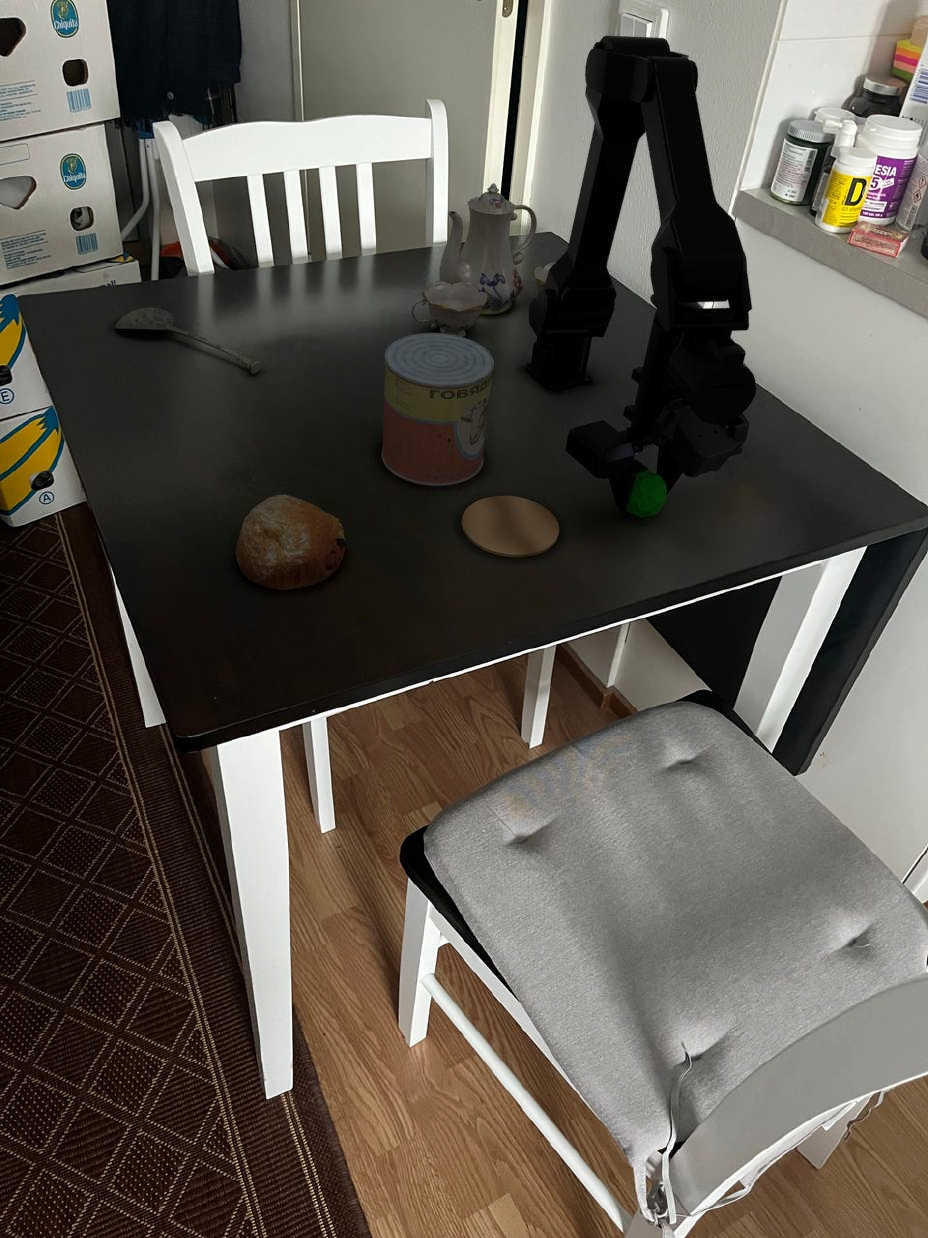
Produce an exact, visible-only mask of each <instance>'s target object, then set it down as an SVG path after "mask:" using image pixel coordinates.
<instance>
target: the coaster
mask: <svg viewBox="0 0 928 1238" xmlns="http://www.w3.org/2000/svg"><path fill="white" fill-rule="evenodd" d="M461 528H462V529H461V530H462V532H463V534H464V535H465V537H466V538H467V539H468V540H469V541H470V542H471V543H472V544H473V545H474V546H476V547H477V548H479V549H480V550H483V551H485V552H486V553H490V554H492V555H496V556H498V557H499V556H500V557H505V558H517V559H518V558H529V557H534V556H537V555H540V554H543V553H545V552H546V551H549V549H551V548H552V547H553V546H554V545H555V544H556V542H557V541H558V539H559V533H560V525H559V522H558V520H557V518H556V517H555V515H554V514H553V513H552V512H551V511H550V510H549V509H548V508H547V507H545V506H543V505H542V504H540V503H538V502H536V501H534V500H531V499H528V498H524V497H520V496H514V495H494V496H493V495H492V496H487V497H484V498H481V499H478V500H476V501H475V502H473V503H471V504H470V505H469V506H468V507H467V508H466V509H465V510H464V512H463V514H462V518H461Z"/></svg>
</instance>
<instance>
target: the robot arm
mask: <svg viewBox="0 0 928 1238" xmlns="http://www.w3.org/2000/svg"><path fill="white" fill-rule="evenodd" d="M689 57H690V55H688V54H683V53H681V52H677V51H673V50H671V47H670V44H669V42H668V40H667V39H666V38H664V37H656V36H655V37H651V36H627V35H603V36H602V37H601V39H600V40H599V41H595V43H594V44H593V46H592V48H591V49H590V50H589V52H588V54H587V57H586V61H585V67H584V68H585V70H584V78H585V90H584V91H585V92H584V95H585V98H586V102H587V105H588V108H589V110H590V114H591V116H592V119H593V123H594V124H593V129H592V130H593V131H592V135H591V140H590V143H589V149H588V153H587V157H586V162H585V167H584V171H583V176H582V181H581V185H580V190H579V195H578V200H577V203H576V208H575V213H574V218H573V222H572V227H571V231H570V236H569V240H568V246H567V249H566V251H565V252H564V253H563V254H562V256H560V257H559V258H558V260H556V261H555V262H556V263H555V264H554V265H553V266H552V267H551V268H550V269H549V272H548V275H547V279H546V282H545V286H544V289H542V290H541V291H540V293H539V294H537V295H536V296H535V297H534V298H533V300H532V301H531V302H530V304H529V306H528V325H529V326H530V328H531V329H532V331H533V333H534V334H535V336H536V341H534V342H533V346H532V352H531V359H530V363H526V364H525V365H524V369H525V370H526V372H528V373H530V375H532V376H533V377H534V378H535V379H536V380H537V381H539V382H540V383H541V384H542V385H544V386H545V387H546V388H547V389H549V390H550V391H553V392H556V391H559V390H564V389H569V388H572V387H573V388H574V387H577V386H582V385H586V384H589V383H592V382H593V381H594V377H593V376H592V375H591V374H589V373H588V372H587V367H588V363H589V357H590V351H591V345H592V342H593V341H592V340H593V338H600V339H601V338H604V337H605V334H606V332H607V330H608V327H609V325H610V322H611V319H612V317H613V314H614V311H615V306H616V297H617V295H618V294H617V291H616V288H615V286H614V282H613V280H612V277H611V274H610V272H609V269H608V263H609V259H610V255H611V251H612V247H613V243H614V239H615V235H616V232H617V227H618V223H619V220H620V215H621V211H622V207H623V204H624V199H625V195H626V191H627V188H628V185H629V181H630V176H631V172H632V169H633V166H634V165H633V164H634V161H635V156H636V153H637V149H638V145H639V141H640V139H642V137H643V136H645V137H646V142H647V143H646V144H647V149H648V154H649V160H650V167H651V171H652V177H653V183H654V190H655V194H656V200H657V206H658V213H659V223H660V226H659V228H658V230H657V232H656V234H655V237H654V238H653V241H652V244H651V245H650V255H651V261H650V268H649V269H650V270H649V275H650V283H651V287H652V292H653V293H652V294H651V295H650V298H649V299H650V302H651V304H652V305H653V306H654V307H655V309H656V310H655V312H654V317H653V321H652V325H651V329H650V333H649V338H648V343H647V347H646V351H645V356H644V361H643V364H642V366H640V367H635V368H633V369H632V373H631V377H630V378H631V380H633V381H634V382H636V384H638V387H637V391H636V396H635V399H634V403H633V404H628V405H626V406H624V409H623V417H625V418H626V420H628V421H629V422H630V426H627V427H625V429H624V430H621V431H618V430H617V428H616V429H615V427H613V426H612V424H610V423H609V422H607V421H606V420H605V419H601V420H598V421H593V422H589V423H585V424H582V425H578V426H574V427H573V428H571V429H569V430H568V434H567V438H566V444H565V448H564V451H565V452H566V453H567V454H568V455H569V456H571V457H572V458H573V459H574V460H575V461H576V462H578V463H579V464H580V465H581V466H582V467H583V468H584V469H586V470H587V472H589V473H590V474H591V475H592V476H593V477H594V478H597V479H601V480H606V479H608V482H609V485H610V489H611V493H612V496H613V499H614V503H615V507H616V508H617V509H618V510H620V511H621V512H626V511H625V510H626V507H627V505H628V503H629V500H630V497H631V493H632V490H633V486H634V483H635V479H636V476H637V474H639V473H642V472H644V471H647V470H648V471H649V469H648V468H647V466H645V465H644V464H643V463H642V462H641V457H642V454H643V453H644V450H645V449H648V448H653V447H655V446H656V447H658V450H657V462H656V472H655V474H657V475H659V476H661V477H662V479H663V480H664V482H665V484H666V487H667V493H666V497H667V496H668V495H669V493H670V492H671V490H672V489H673V488H674V486H675V485H676V484H677V482H678V481H679V479H680V478H681V476H682V475H683V474H684V475H685V476H686V477H689V478H698V477H700V476H701V475H703V474H707V473H710V472H717V471H719V470H721V469H722V467H723V466H724V464H725V463H726V462H727V460H729V458H731V457H733V456H737V455H740V454H742V453H743V447H742V446H743V444H744V443H745V442H746V441H747V437H748V432H749V428H750V422H749V420H748V418H747V417H746V415H745V414H744V412H745V411H746V410H747V409H748V408H749V407H750V405H751V404H752V402H753V400H754V399H755V396H756V393H757V387H756V386H757V381H756V377H755V375H754V373H753V371H752V370H751V369H750V368H749V367H748V365H747V364H746V363H745V359H746V354H747V353H746V350H745V349H744V347H742V346H741V345H740V344H739V343H738V342H735V341H734V339H733V338H732V333H733V332H740V331H741V332H743V331H744V332H745V331H748V330H749V328H750V312H751V311H752V310H753V302H752V296H751V288H750V282H749V275H748V273H749V272H748V261H747V254H746V252H745V250H744V247H743V244H742V241H741V237H740V234H739V231H738V227H737V224H736V221H735V220H734V219H733V217H732V216H731V215H730V214H729V213H728V212H727V211H726V210H725V209H724V208H723V207H722V206H721V205H720V204H719V203H718V201H717V198H716V195H715V191H714V190H715V189H714V185H713V179H712V175H711V169H710V163H709V158H708V152H707V147H706V141H705V136H704V131H703V124H702V120H701V114H700V108H699V103H698V98H697V88H698V83H699V69H698V66H697V63H696V62H695V61H694V60H691V59H689ZM724 302H727V303H728V307H708V308H707V307H703V306H702V305H701V304H700V303H724Z"/></svg>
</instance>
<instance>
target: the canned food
mask: <svg viewBox="0 0 928 1238" xmlns="http://www.w3.org/2000/svg"><path fill="white" fill-rule="evenodd" d="M494 366H495V359H494V356H493V355H492V354H491V352H490V351H489V350H488V349H487V348H486V347H485V346H483V345H481V344H480V343H479V342H476V341H474V340H472V339H470V338H466V337H465V336H463V337H460V336H456V335H451V334H443V333H441V332H423V333H415V334H410V335H406V336H403V337H400V338H398V339H396V340H395V341H393V342H391V343H390V344H389V345H388V347H387V348H386V349H385V352H384V388H383V389H384V393H383V398H384V399H383V421H382V423H383V424H382V425H383V427H382V449H381V460H382V463H383V465H384V466H385V467H386V468H387V470H388V471H390V472H391V473H392V474H393V475H395V476H397V477H398V478H399V479H402V480H404V481H407V482H409V483H413V484H417V485H420V486H428V487H445V486H447V487H448V486H453V485H457V484H460V483H461V484H462V483H464V482H467V481H468V480H470V479H472V478H474V477H475V476H476V475H477V474H479V473H480V471H481V470H482V468H483V465H484V451H485V450H484V449H485V441H486V432H487V423H488V413H489V406H490V405H489V404H490V396H491V388H492V387H491V386H492V378H493V370H494Z"/></svg>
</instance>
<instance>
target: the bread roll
mask: <svg viewBox="0 0 928 1238" xmlns="http://www.w3.org/2000/svg"><path fill="white" fill-rule="evenodd" d="M347 544H348V541H347V539H346V538H345V530H344V527H343V525H342V523H340V519H339V518H338V517H335V516H334V515H333V514H331V513H329V512H326V511H324V510H323V509H321V508H320V507H318V506H317V505H315V504H313V503H311V502H308V501H305V500H303V499H301V498H298V497H295V496H292V495H288V494H287V493H286V494H276V495H273V496H270V497H267V498H266V499H265V500H263V501H262V502H260V503H258V504H257V505H256V506H254V507H253V508H252V509H251V510H250V512H249V513H248V515H246V516H245V517H244V520H243V522H242V524H241V528H240V532H239V536H238V539H237V541H236V546H235V558H236V563H237V564H238V565H237V566H238V567H239V569H240V571H241V574H243V575H244V576H245V578H247V579H248V580H249V581H251V582H252V583H254V584H256V585H259V586H260V587H261V586H262V587H265V588H269V589H272V590H279V591H288V590H295V589H302V588H309V587H311V586H315V585H317V584H319V583H321V582H323V581H325V580H326V579H328V578H329V577H331V576H332V575H333V574H334V573H336V571H337V570H338V569H339V568H340V566H341V563H342V561H343V559H344V556H345V552H346V551H345V549H346V546H347Z"/></svg>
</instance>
